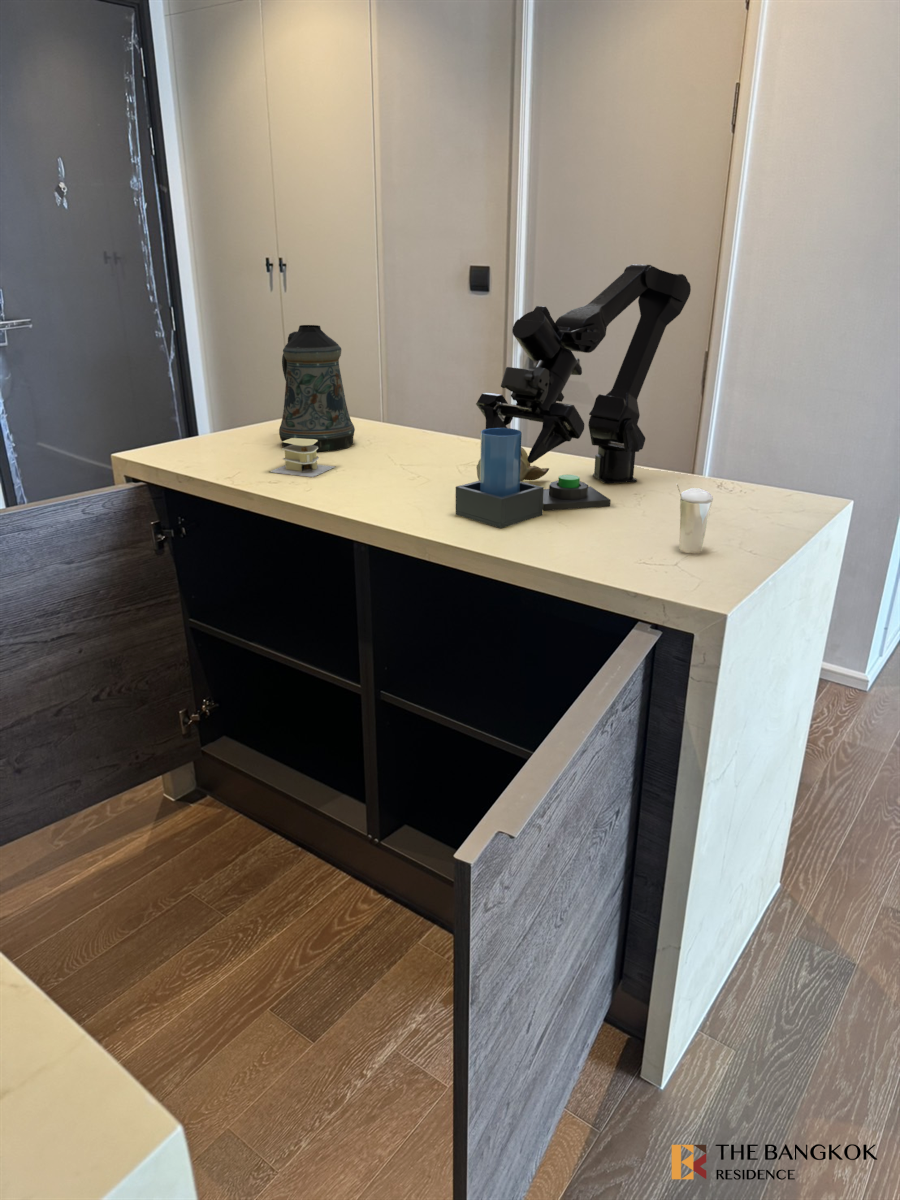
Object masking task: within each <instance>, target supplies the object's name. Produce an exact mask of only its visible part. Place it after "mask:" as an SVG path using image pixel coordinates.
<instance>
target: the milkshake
mask: <svg viewBox="0 0 900 1200" xmlns="http://www.w3.org/2000/svg"><path fill="white" fill-rule="evenodd" d="M676 487H677V491H678V494H679V518H680V519H679V540H678V541H679V544H678V550H679V551H680V552H682V553H686V554H691V555H692V554H699V553H702V551H703V545H704V541H705V537H706V531H707V526H708V521H709V517H710V513H711V509H712V505H713V500H714V497H713V495H712V493H711V492H709V491H708V490H704V489H703V488H700V487H699V488H698V487H697V488H696V487H690V488H688V489H686V490H683V491H682V492H681V490H680V487H679V484H678V483H676Z"/></svg>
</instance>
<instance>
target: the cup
mask: <svg viewBox="0 0 900 1200" xmlns="http://www.w3.org/2000/svg"><path fill="white" fill-rule="evenodd" d="M521 447H522V431H521V430H519V429H516V428H509V427H507V428H489V429H486V428H485V429H482V430H481V431H480V458H479V460H480V491H481V492H485V493H488V494H492V495H496V496H499V497H504V496H507V495H511V494H514V493H518V492H520V464H521Z"/></svg>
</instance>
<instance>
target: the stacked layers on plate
mask: <svg viewBox="0 0 900 1200" xmlns="http://www.w3.org/2000/svg"><path fill="white" fill-rule="evenodd" d="M317 441H318V440H315V439H301V438H291V439H288V440H285V441H281V443H282V442H284V443H289V444H292V445H289V446H287V447H282V448H281V450H282V451H284V457H283V458H282V461H284V465H282V466H279V467H277V468H274V469H272V470H270V471H269V473H274V474H275V473H276V474H283V475H292V476H301V477H309V478H315V477H317V476H319V475H321V474H323V473H326V472H328V471H330V470H332V469H334V468H337V466H335V465H325V464H324V465H323V464H318V460H319V459H320V457H319V456H318V452H316V450H317V449H318V446H312V445H314V444H315V443H316V442H317Z"/></svg>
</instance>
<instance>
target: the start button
mask: <svg viewBox="0 0 900 1200" xmlns="http://www.w3.org/2000/svg"><path fill="white" fill-rule="evenodd" d="M558 480H559V481H558V486H559V487H563V488H577V487H579V483H580V482H581V481H580V480H581V477H580V476H579V475H575V474H561V475H559V476H558Z"/></svg>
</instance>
